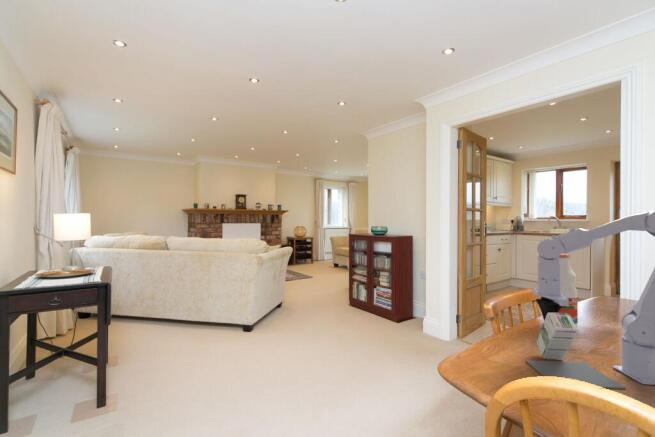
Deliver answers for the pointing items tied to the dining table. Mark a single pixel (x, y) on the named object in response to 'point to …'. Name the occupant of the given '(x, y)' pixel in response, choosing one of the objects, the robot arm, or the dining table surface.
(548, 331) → the syrup box
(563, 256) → the fruit juice
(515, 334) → the dining table surface
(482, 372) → the dining table surface
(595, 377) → the slate mat
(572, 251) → the robot arm
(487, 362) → the dining table surface
